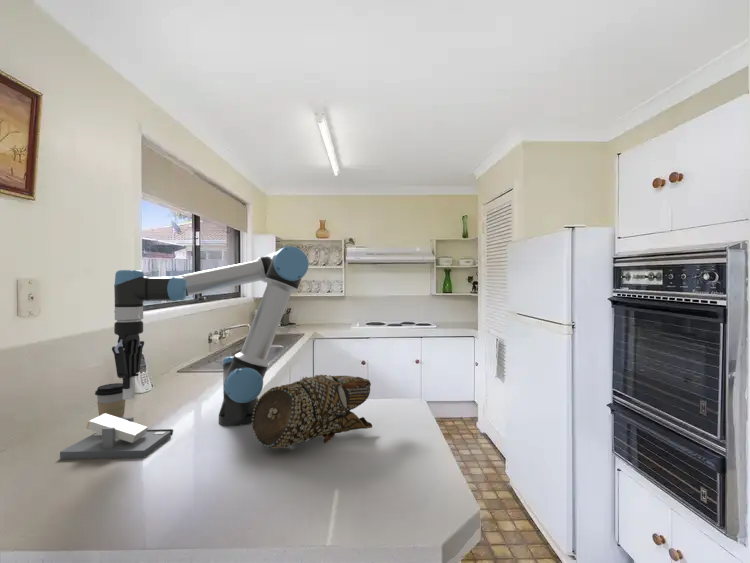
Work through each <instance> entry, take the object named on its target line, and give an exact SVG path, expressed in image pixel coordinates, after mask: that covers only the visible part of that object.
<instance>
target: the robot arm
mask: <svg viewBox="0 0 750 563" xmlns="http://www.w3.org/2000/svg"><path fill="white" fill-rule="evenodd" d="M308 270H309V259H308V257H307V255H306V253H305V251H303V250H302V249H301V248H298V247H297V246H296V247H295V246H291V245H290V246H288V245H287V246H283V247H280V248H279V249H278V250H277V251H274V252H271V253H270V254H267V255H263V256H258V257H257V259H255V260H252V261H247V262H243V263H242V262H241V263H237V264H231V265H227V266H220V267H216V268H212V269H210V268H209V269H206V270H200V271H195V272H191V273H186V274H185V273H184V274H182V275H180V274H179V275H175V276H145V273H144V271H143V270H137V269H120V270H117V271H115V275H114V285H113V286H114V290H113V291H114V310H113V311H114V312H113V313H114V321H115V322H114V323H113V324H114V325H113V326H114V328H113V329H114V330H113V331H114V334H115V335H116V336H118V338H117V345H116V346H112V347H111V350H112V353H113V356H114V357H113V358H114V362H115V369H116V377H117V378H119V379H122V383H123V400H134V399H135V395H136V392H135V385H136V384H135V382H136V380H135V377H138V376H139V375H140V370H141V363H142V362H141V361H142V354H143V348H144V345H145V341H144V340H140V339H141V338H140V334H143V332H144V321H143V319H144V302H151V301H153V302H156V301H158V302H163V301H164V302H170V301H171V302H177V301H184V300H185V299H186V297H188V296H194V295H198V294H204V293H208V292H212V291H218V290H223V289H226V288H231V287H236V286H241V285H246V284H250V283H254V282H259V281H260V282H263V283H266V287H265V289H264V292H263V294H262V297H261V300H260V302H259V304H258V307H257V310H256V311H255V315H254V318H253V320H252V322H251V324H250V327H249V329H248V333H247V336H246V338H245V341H244V342H243V346H242V348H241V350H240V351H239V352H237V353H235V354H234V355H231V356H225V357H224V358H223V359H222V377H223V378H222V380H223V381H222V385H223V386H222V387H223V392H222V393H223V394H222V395H223V401H222V403H221V407H220V408H219V412H218V423H219V424H220V425H223V426H226V427H227V426H231V427H235V426H236V427H237V426H245V425H252V419H253V417H252V416H253V412H254V411H253V409H254V408H255V405H256V403H257V402H258V400H259V398H258V396H260V394H261V393H262V390H263V386H264V378H265V375H266V372H267V370H268V367H269V364H268V362H267V357H268V355H269V353H270V349H271V347H272V345H273V342H274V340H275V337H276V334H277V331H278V328H279V326H280V324H281V320H282V318H283V316H284V313H285V311H286V309H287V305H288V303H289V300H290V298H291V295H292V294H293V293H294V292H297V291H298V288H299V287H300V284H301V281H302V278H304V276H305V275H306V274H307V272H308Z"/></svg>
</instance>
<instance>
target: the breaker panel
mask: <svg viewBox="0 0 750 563" xmlns="http://www.w3.org/2000/svg"><path fill="white" fill-rule="evenodd" d="M134 418H135V417H134V416H123V418H122V419H125V420H128V421H131V422H134ZM134 423H135V422H134ZM171 436H172V435H171V431H163V432H146V434H145V435H144V436H142V437H141V438H139V439H138V440H136V441H135V442H133V443H131V442H128V441H124V440H121V439H118V438H115V427H110V428H103V429H102V433H99V432H95V433H93V434H91V435H89V436H87V437H85V438H83V439H81V440H79V441H77V442H76V443H74V444H72V445H70V446H69V447H67V448H65V449H63V450H61V451H60V452H59V459H60V460H69V459H70V460H71V459H73V460H75V459H77V460H78V459H80V460H81V459H128V458H129V459H130V458H132V459H133V458H138V459H139V458H142V459H143V458H146V457H147V456H149V455H150V454H151V453H153V452H154V451H155V450H156V449H158V448H159V447H161V446H162V445H163V444H164V443H166V442H167V441H168V440H169V439H171Z"/></svg>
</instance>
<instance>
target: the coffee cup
mask: <svg viewBox="0 0 750 563" xmlns="http://www.w3.org/2000/svg"><path fill="white" fill-rule="evenodd" d="M94 395H95V396H96V398H97V408H98V416H101V415H103V414H105V413H106V414H109V415H112V416H115V417H118V418H124V417H125V410H126V400H127V399H126V400H123V382H117V383H116V382H115V383H107V384H104V385H100V386H97V389H96V390H95V391H94Z"/></svg>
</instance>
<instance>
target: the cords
mask: <svg viewBox="0 0 750 563" xmlns="http://www.w3.org/2000/svg"><path fill="white" fill-rule="evenodd" d="M163 431H171V436H172V435H173V433H174V429H172V428H167V429H161V428H160V429H147V432H163Z"/></svg>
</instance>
